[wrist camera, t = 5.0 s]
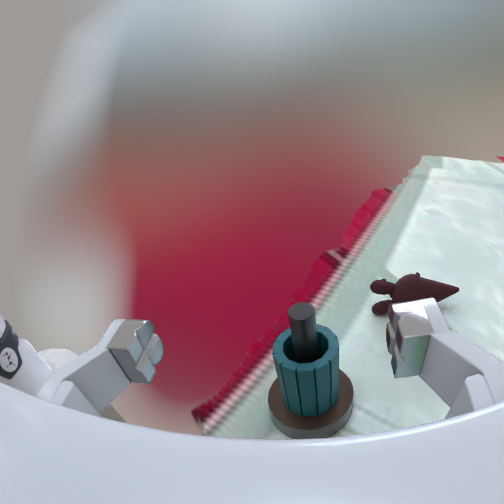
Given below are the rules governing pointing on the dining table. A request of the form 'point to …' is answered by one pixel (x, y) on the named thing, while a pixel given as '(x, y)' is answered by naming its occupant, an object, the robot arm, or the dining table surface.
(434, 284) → the icecream
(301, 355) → the holder
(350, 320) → the dining table surface
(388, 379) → the dining table surface
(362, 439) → the robot arm
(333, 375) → the teal ribbed hollow cylinder
